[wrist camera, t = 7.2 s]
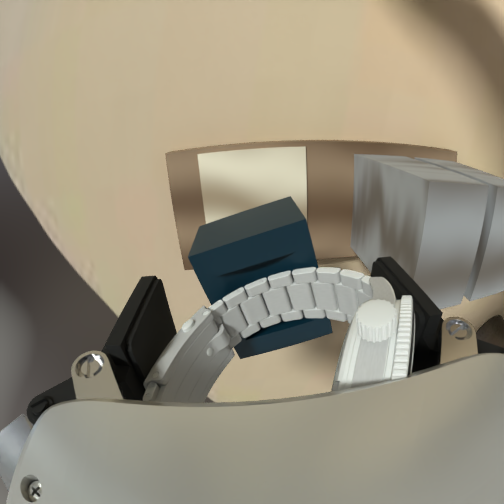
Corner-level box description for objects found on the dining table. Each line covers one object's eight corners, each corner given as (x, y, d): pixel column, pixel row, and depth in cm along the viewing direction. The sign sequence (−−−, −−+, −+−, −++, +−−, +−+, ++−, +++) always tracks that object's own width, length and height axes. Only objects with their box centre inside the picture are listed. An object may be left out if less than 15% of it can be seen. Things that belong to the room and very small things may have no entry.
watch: (351, 282, 14) (448, 471, 4) (210, 324, 15) (192, 527, 5) (330, 181, 12) (533, 367, 2) (164, 236, 13) (55, 469, 3)
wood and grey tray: (170, 151, 21) (106, 179, 10) (447, 149, 21) (535, 178, 10) (187, 262, 25) (157, 353, 15) (437, 241, 25) (505, 299, 15)
